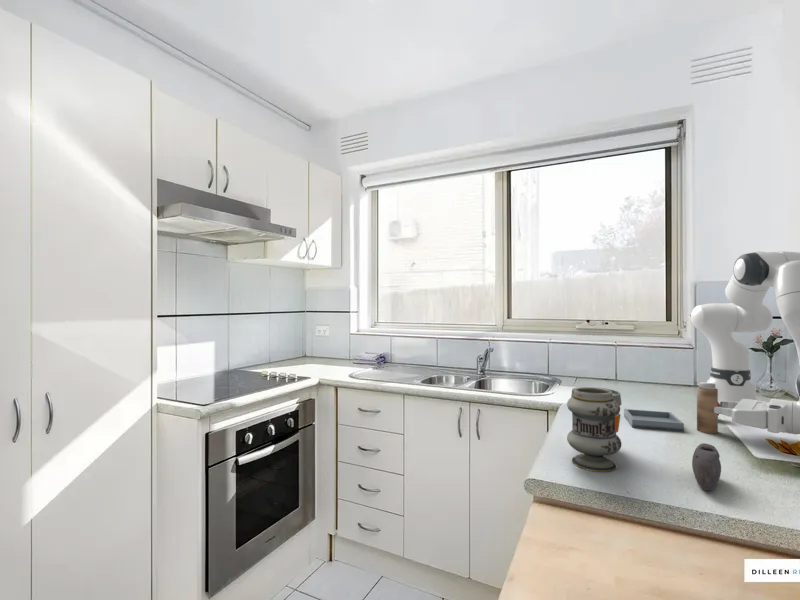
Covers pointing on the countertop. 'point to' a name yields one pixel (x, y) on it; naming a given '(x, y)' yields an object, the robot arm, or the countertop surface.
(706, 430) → the pepper mill
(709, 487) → the perforated stone tool
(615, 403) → the apothecary jar
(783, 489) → the countertop surface
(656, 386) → the countertop surface
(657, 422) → the tray
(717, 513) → the countertop surface
